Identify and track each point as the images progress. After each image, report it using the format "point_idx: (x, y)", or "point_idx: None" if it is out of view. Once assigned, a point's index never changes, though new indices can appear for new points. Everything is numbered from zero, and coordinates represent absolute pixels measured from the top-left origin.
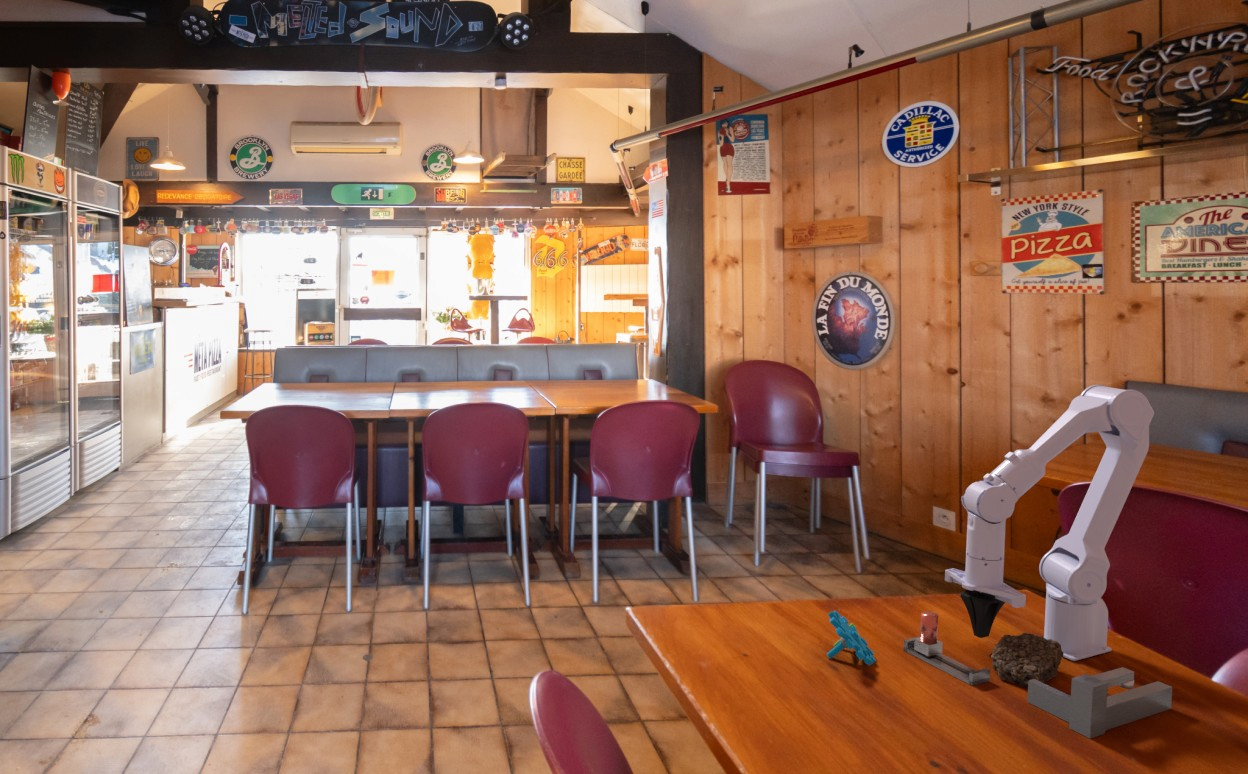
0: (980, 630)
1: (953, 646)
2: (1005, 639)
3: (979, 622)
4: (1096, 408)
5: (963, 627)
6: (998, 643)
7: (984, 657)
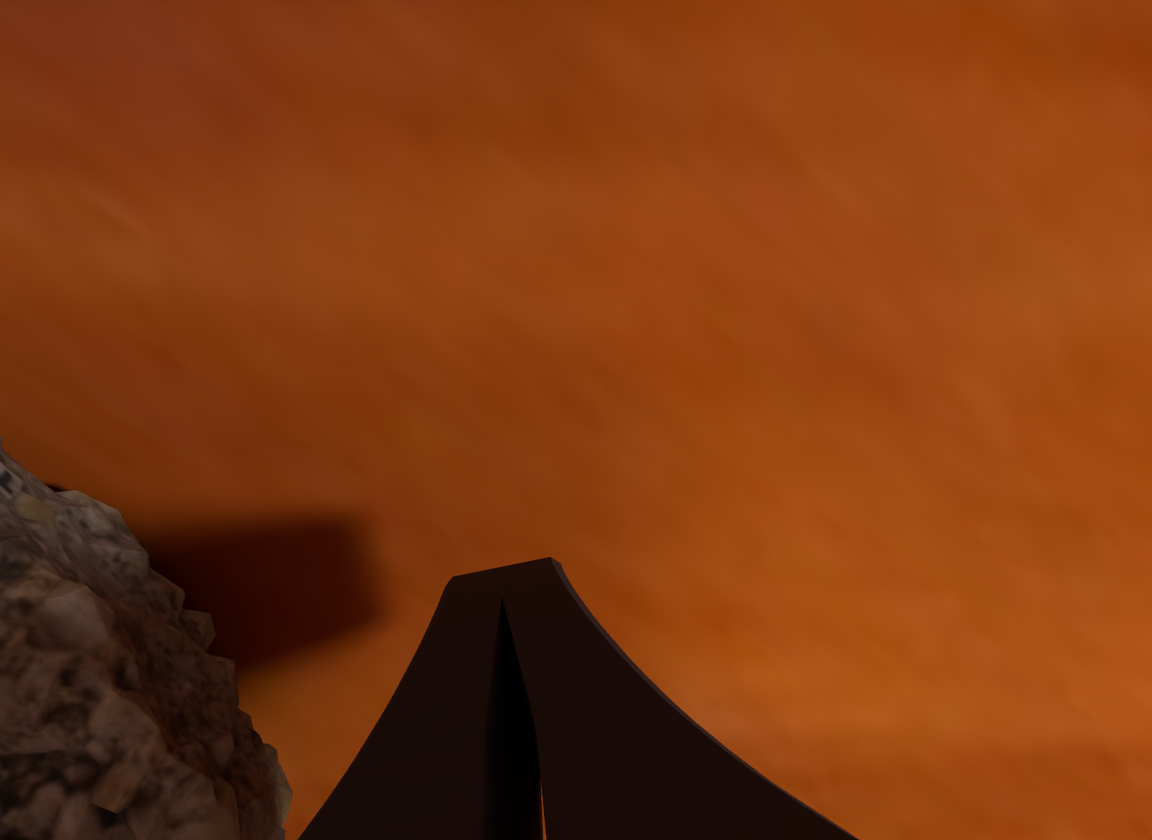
0: (424, 639)
1: (670, 312)
2: (96, 789)
3: (407, 713)
4: None
5: (989, 680)
6: (81, 656)
7: (315, 457)
